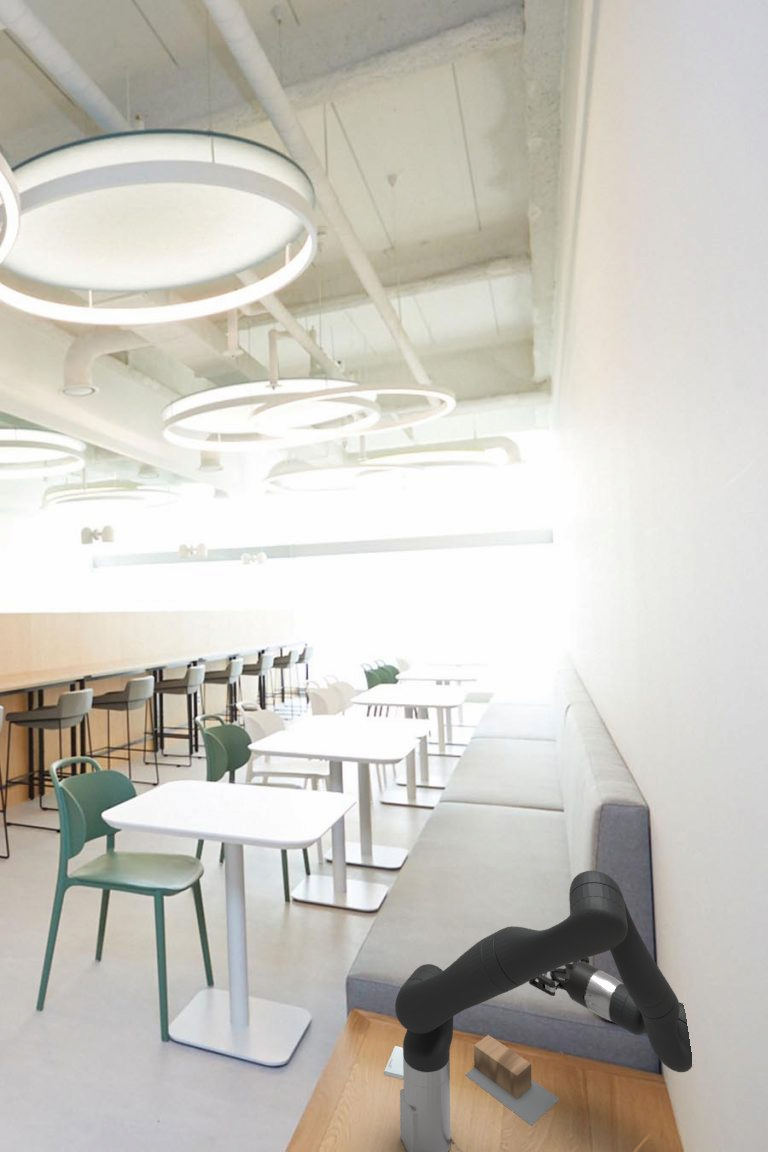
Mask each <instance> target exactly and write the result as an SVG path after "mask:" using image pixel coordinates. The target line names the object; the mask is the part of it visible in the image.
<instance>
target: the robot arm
mask: <svg viewBox="0 0 768 1152" xmlns="http://www.w3.org/2000/svg"><path fill="white" fill-rule="evenodd" d="M568 894H569V895H568V896H569V899H568V901H569V916H567V918H565V919H564V920H563V921H561V922H559V923H557V924H556V925H553V926H551V927H548V928H546V929H542V930H538V929H532V928H527V927H522V926H512V925H511V926H507V927H504V928H501V929H499V930H498V931H494V932H493V933H492V934H489V935H488V936H486V937H484V938H482V939H481V940H479V941H478V942H476V943H475V944H474V945H472V946H471V947H470V948H468V949H467V950H466V951H465V952H463V954H461V955H460V956H458V958H456V960H455V961H453V963H451V964H450V965H449V966H448V967H446V968H445V969H444V970H443V969H441V967H439V966H437V965H436V964H430V963H427V964H422V965H420V966H419V967H417V968H416V969H415V970H414V971H413V972H412V974H411V975H409V977H408V978H407V979H406V981H405V982H404V983H403V984H402V986H401V987H400V989H399V991H398V993H397V995H396V998H395V1005H394V1009H395V1015H396V1018H397V1020H398V1022H399V1023H400V1025H401V1026H402V1027H403V1028H404V1029H405V1030H406V1031H405V1032H406V1033H405V1034H404V1037H403V1042H402V1048H403V1078H404V1080H403V1088H401V1089H399V1115H400V1116H399V1117H400V1118H399V1120H400V1121H399V1123H400V1124H399V1125H400V1127H399V1128H400V1132H399V1134H400V1139H401V1141H402V1143H403V1146H404V1148H405V1150H406V1152H449V1151H450V1148H451V1139H452V1137H451V1134H452V1130H451V1084H450V1083H451V1081H450V1080H451V1075H450V1074H451V1072H450V1071H451V1069H450V1068H451V1063H450V1061H451V1059H450V1057H451V1056H450V1054H451V1053H450V1051H451V1044H452V1042H453V1035H454V1017H455V1016H456V1015H457V1014H459V1013H461V1012H463V1011H465V1010H468V1009H470V1008H472V1007H474V1006H477V1005H479V1004H482V1003H484V1002H486V1001H488V1000H491V999H494V998H496V997H498V996H500V995H503V994H505V993H508V992H509V991H512V990H514V989H516V988H518V987H520V986H522V985H524V984H526V983H529V985H530V986H532V987H534V988H536V989H538V990H540V991H541V992H544V993H545V994H547V995H549V996H550V997H554V996H556V991H557V990H558V989H560V990H563V991H565V992H566V993H567V994H568V997H569V998H570V999H571V1001H573V1002H576V1003H577V1004H579V1005H580V1006H582V1007H584V1008H586V1009H588V1010H589V1011H591V1013H592V1012H593V1013H594V1014H596V1015H597V1016H599V1017H601V1018H604V1019H605V1020H608V1021H610V1022H613V1023H614V1024H616V1025H617V1026H619V1027H620V1028H623V1029H624V1030H626V1031H628V1032H629V1033H631V1034H633V1035H636V1036H641V1035H644V1034H645V1033H646V1035H647V1038H648V1041H649V1043H650V1046H651V1048H652V1050H653V1053H654V1054H655V1055H656V1056H657V1058H658V1059H659V1061H660V1062H661V1063H662V1064H663V1065H664V1066H665V1067H667V1068H669V1069H670V1070H671V1071H673V1072H677V1073H686V1072H688V1071H690V1070H691V1069H692V1068H693V1066H692V1052H691V1046H690V1039H689V1032H688V1026H687V1019H686V1013H685V1009H684V1005H683V1004H684V1003H683V1002H680V1001H679V999H678V997H677V995H676V993H675V992H674V990H673V988H672V986H671V985H670V983H669V982H668V979H666V977H665V976H664V974H663V973H662V970H661V969H660V968H659V966H658V964H657V962H655V960H654V958H653V956H652V955H651V953H650V950H649V949H648V948H647V946H646V944H645V942H644V940H643V938H642V937H641V935H640V933H639V930H638V928H637V927H636V924H635V923H634V920H633V918H632V916H631V913H630V911H629V909H628V906H627V904H626V902H625V898H624V896H623V893H622V890H621V888H620V885H619V884H618V882H617V881H615V880H614V879H613V878H612V877H611V876H609V875H608V874H606V873H605V872H603V871H598V870H597V871H596V870H586V871H583V872H579V874H577V875H576V876H575V877H573V880H572V881H571V883H570V888H569V893H568ZM608 951H610V953H611V956H612V959H613V962H614V964H615V966H616V969H617V971H618V974H619V977H620V979H621V980H622V982H621V981H620V980H618V979H617V978H616V977H614V976H613V975H610V974H609V973H607V972H605V971H602V969H599V968H597V967H595V966H593V965H591V964H590V958H591V957H593V956H597V955H600V954H604V953H606V952H608ZM548 973H549V976H550V977H548Z"/></svg>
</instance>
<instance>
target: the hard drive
mask: <svg viewBox="0 0 768 1152" xmlns="http://www.w3.org/2000/svg"><path fill="white" fill-rule="evenodd" d="M383 1076H387V1077H392V1078H395V1079H400V1080H403V1081H404V1078H403V1046H402V1047H401V1046H396V1045H394V1048H393V1050H392V1052H391V1054H390V1057H389V1059H388V1061H387V1064H386V1066H385V1068H384V1072H383Z"/></svg>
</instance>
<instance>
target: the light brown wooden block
mask: <svg viewBox="0 0 768 1152" xmlns="http://www.w3.org/2000/svg"><path fill="white" fill-rule="evenodd" d="M473 1057H474V1058H473V1061H474V1062H473V1063H474V1064H473V1065H474V1066H473V1068H474V1067H475V1068H476V1069H477V1070H479V1071H480V1072H481V1073H483V1074H484V1075H485V1076H487V1077H488V1078H489V1079H491V1080H492V1081H493V1082H495V1083H496V1084H498V1085H499V1086H500V1087H502V1088H503V1089H504V1090H506V1091H507V1092H508V1093H510V1094H511V1095H512V1096H514V1097H515V1098H516V1099H518V1098H519V1097H520V1096H522V1095H523V1094H524V1093H525V1092H526V1091H527V1090H528V1089H530V1088H531V1087H532V1083H531V1079H532V1063H531V1062H529V1061H528V1060H527V1059H525V1058H524V1057H522V1056H521V1055H520V1054H517V1053H516V1052H514V1051H513V1050H512V1049H510V1048H509V1047H508V1046H505V1045H504V1044H502V1043H501V1042H500V1041H498V1040H497V1039H495V1038H494V1037H492V1036H491V1035H489V1034H487V1035H486V1036H485V1037H483V1038H482V1039H480V1040H479V1041H478V1042H476V1043H475V1044H474V1045H473Z"/></svg>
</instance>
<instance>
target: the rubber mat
mask: <svg viewBox="0 0 768 1152" xmlns="http://www.w3.org/2000/svg"><path fill="white" fill-rule="evenodd" d="M464 1075H465V1077H467V1078H468V1079H470V1080H471V1081H472V1082H474V1083H475V1084H476V1085H477V1086H478V1087H480V1088H481V1089H482V1090H484V1091H485V1092H486V1093H487V1094H489V1095H490V1096H491V1097H493V1098H494V1099H496V1100H497V1101H498V1102H499V1103H501V1104H502V1105H503V1106H504V1107H506V1108H507V1109H508V1110H510V1111H511V1112H513V1113H514V1114H515V1115H516V1116H518V1117H519V1118H521V1119H522V1120H523V1121H524V1122H525V1123H527V1124H528V1125H529V1126H531V1127H533V1126H534V1124H535V1123H537V1122H538V1121H539V1120H540V1119H541V1118H542V1117H543V1116H544V1115H545V1114H546V1113H547V1112H548V1111H550V1110H551V1109H552V1107H554V1106H555V1105H556V1104H557V1103H558V1102H559V1101H560V1098H559V1097H558V1096H556V1095H555V1094H554V1093H552V1092H550V1091H549V1090H548V1089H546V1088H545V1087H543V1086H542V1085H540V1084H539V1083H538V1082H536V1081H535V1080H533V1079H532V1078H531V1083H532V1087H531V1088H530V1089H528V1090H527V1091H526V1092H525V1093H524V1094H523V1095H522V1096H520V1097H519V1098H518V1099H516V1098H515V1097H514V1096H512V1095H511V1094H510V1093H508V1092H507V1091H506V1090H504V1089H503V1088H502V1087H500V1086H499V1085H498V1084H496V1083H495V1082H493V1081H492V1080H491V1079H489V1078H488V1077H487V1076H485V1075H484V1074H483V1073H481V1072H480V1071H479V1070H477V1069H476V1068H475V1067H474V1066H473V1068H472V1069H471V1070H469V1071H467V1073H465V1074H464Z"/></svg>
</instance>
